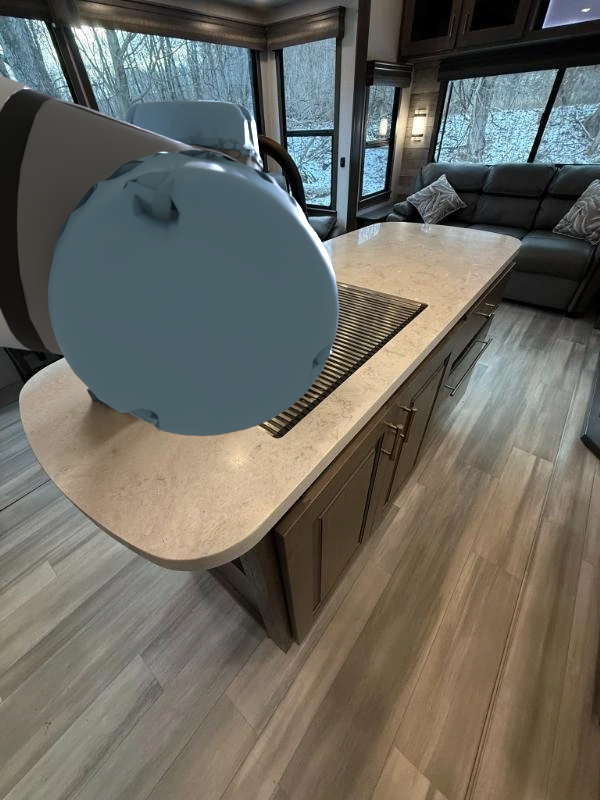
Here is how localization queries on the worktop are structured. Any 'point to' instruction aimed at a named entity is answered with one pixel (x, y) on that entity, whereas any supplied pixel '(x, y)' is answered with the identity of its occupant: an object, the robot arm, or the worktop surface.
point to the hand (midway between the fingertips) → (104, 268)
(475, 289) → the worktop surface
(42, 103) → the robot arm
